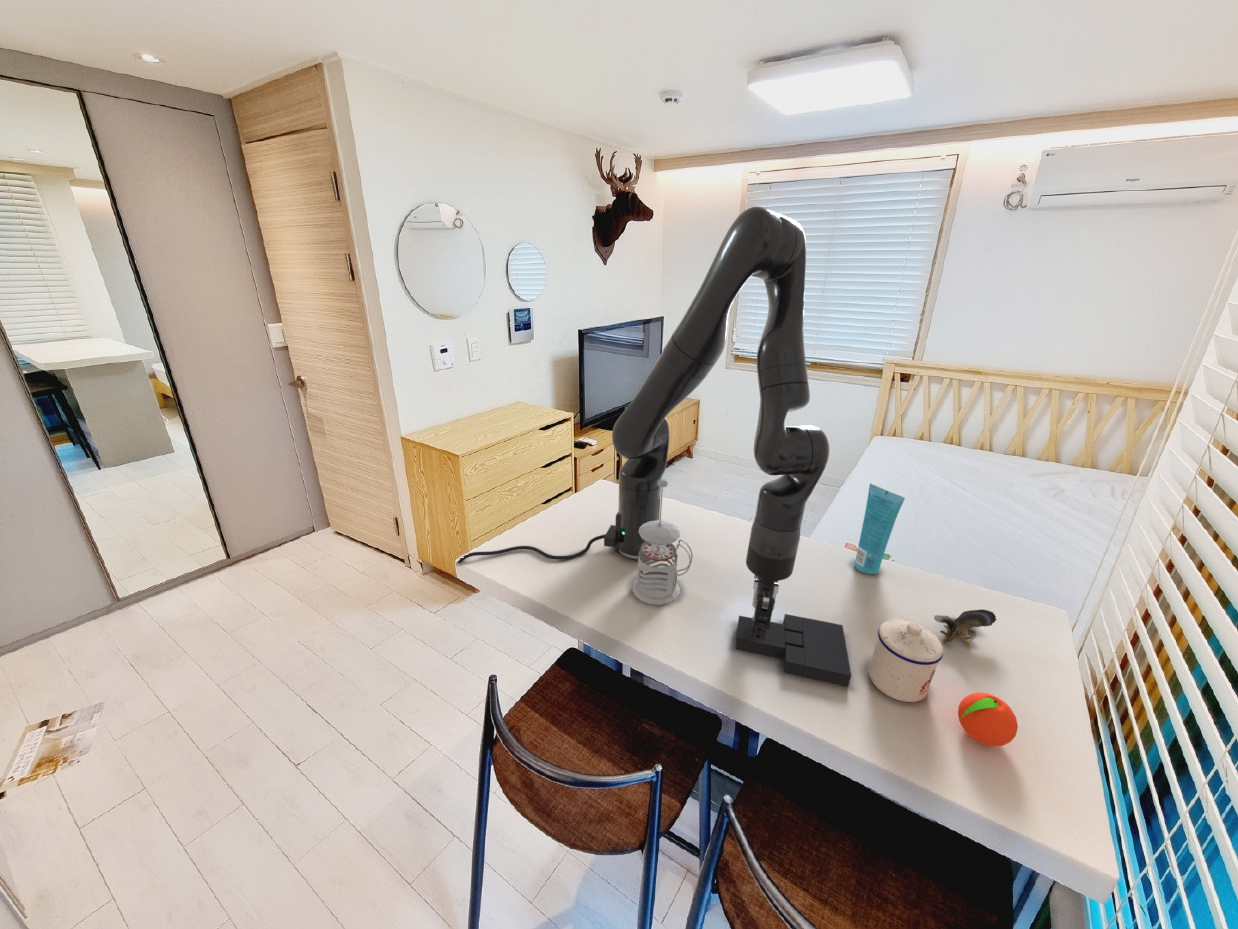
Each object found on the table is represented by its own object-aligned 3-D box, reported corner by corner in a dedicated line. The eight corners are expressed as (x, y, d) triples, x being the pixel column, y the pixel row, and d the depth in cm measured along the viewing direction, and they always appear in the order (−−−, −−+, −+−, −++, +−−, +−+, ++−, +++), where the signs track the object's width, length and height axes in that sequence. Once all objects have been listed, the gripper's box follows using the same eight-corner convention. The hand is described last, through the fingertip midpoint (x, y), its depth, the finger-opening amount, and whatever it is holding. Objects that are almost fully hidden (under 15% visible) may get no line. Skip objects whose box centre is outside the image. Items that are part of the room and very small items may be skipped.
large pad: (783, 672, 83) (785, 661, 82) (782, 624, 94) (784, 613, 93) (848, 687, 81) (851, 675, 80) (839, 635, 91) (842, 624, 90)
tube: (887, 572, 109) (910, 493, 101) (877, 580, 107) (899, 500, 99) (855, 556, 115) (874, 480, 107) (844, 564, 112) (863, 487, 104)
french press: (640, 570, 108) (645, 464, 98) (693, 582, 105) (704, 474, 94) (625, 598, 100) (628, 485, 89) (682, 612, 96) (693, 497, 86)
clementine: (971, 762, 70) (987, 727, 67) (934, 719, 76) (948, 685, 73) (1020, 754, 71) (1039, 719, 68) (980, 712, 77) (995, 678, 74)
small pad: (735, 649, 88) (737, 638, 87) (737, 626, 93) (739, 615, 92) (801, 663, 85) (803, 652, 84) (799, 638, 91) (801, 627, 90)
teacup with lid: (931, 713, 77) (953, 655, 72) (866, 692, 80) (883, 636, 75) (922, 658, 87) (942, 605, 82) (865, 642, 90) (880, 589, 85)
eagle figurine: (980, 659, 85) (1005, 631, 89) (962, 621, 85) (989, 595, 89) (936, 652, 92) (962, 626, 96) (920, 617, 92) (946, 592, 96)
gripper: (798, 574, 74) (780, 656, 81) (796, 525, 86) (780, 600, 93) (746, 564, 76) (732, 645, 82) (751, 518, 88) (739, 592, 95)
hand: (758, 621), depth 88 cm, fingers open, 8 cm apart
